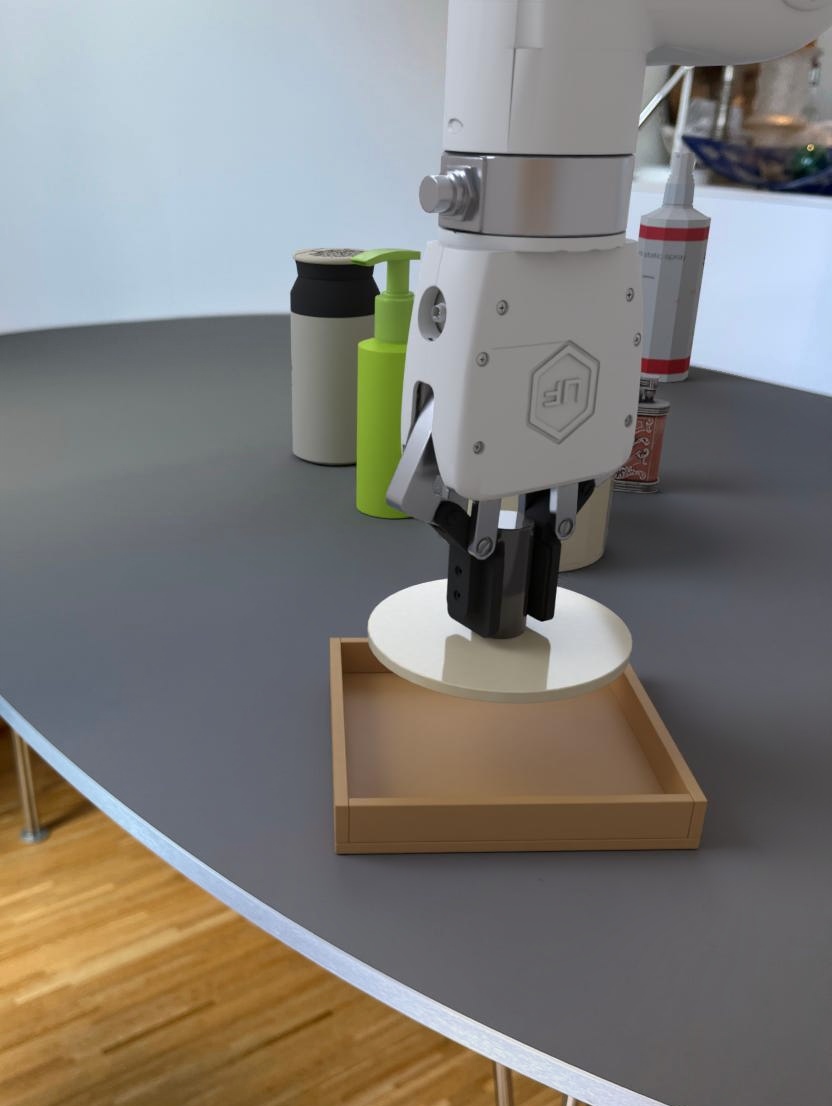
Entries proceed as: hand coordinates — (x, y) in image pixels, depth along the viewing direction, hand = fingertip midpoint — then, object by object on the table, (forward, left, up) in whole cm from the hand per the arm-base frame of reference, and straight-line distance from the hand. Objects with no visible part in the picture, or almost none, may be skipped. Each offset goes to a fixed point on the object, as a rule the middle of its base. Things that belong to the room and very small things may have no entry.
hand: (500, 615), depth 51 cm
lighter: (-17, -43, -8) cm, 47 cm away
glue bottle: (-33, -85, -8) cm, 92 cm away
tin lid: (0, 0, -1) cm, 1 cm away
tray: (0, 0, -8) cm, 8 cm away
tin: (-7, -29, -8) cm, 31 cm away
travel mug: (+7, -52, -8) cm, 53 cm away
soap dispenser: (+3, -37, -8) cm, 38 cm away
